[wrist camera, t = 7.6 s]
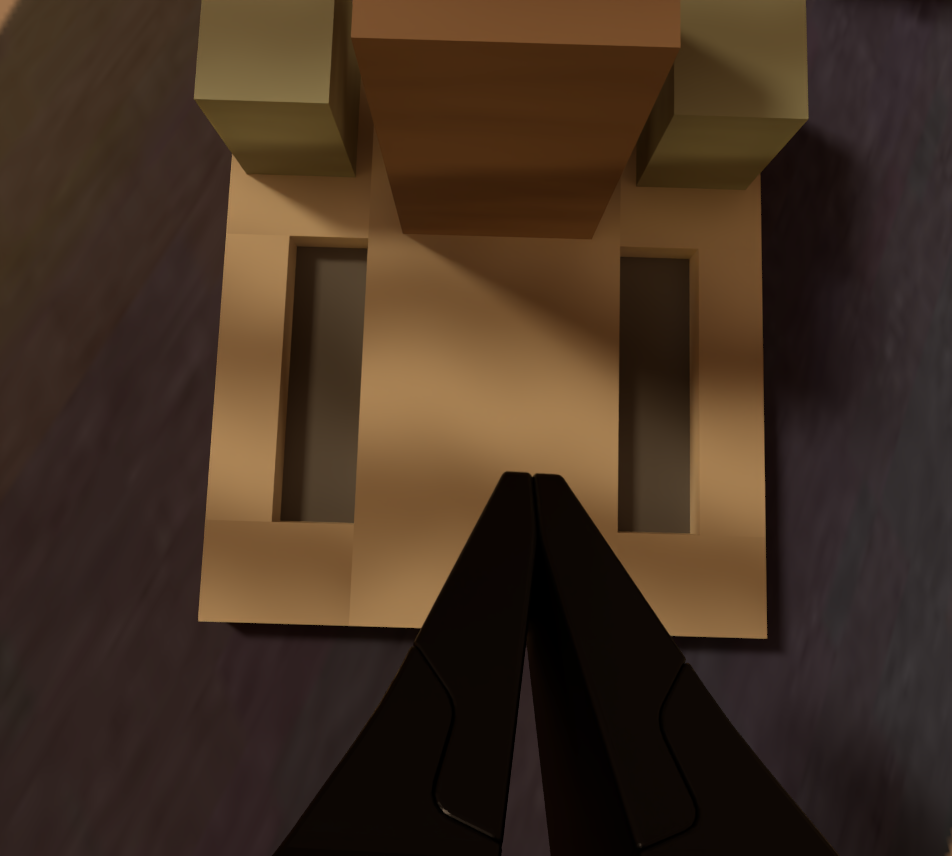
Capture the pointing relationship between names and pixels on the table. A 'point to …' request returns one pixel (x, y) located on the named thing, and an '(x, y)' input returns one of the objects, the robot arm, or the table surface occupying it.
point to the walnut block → (510, 107)
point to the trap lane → (486, 337)
